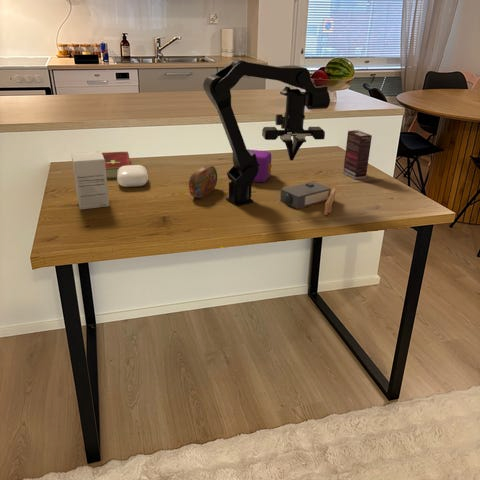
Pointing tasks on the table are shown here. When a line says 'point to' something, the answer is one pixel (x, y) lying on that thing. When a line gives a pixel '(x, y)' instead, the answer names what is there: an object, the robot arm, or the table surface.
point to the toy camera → (263, 165)
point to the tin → (203, 181)
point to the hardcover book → (115, 162)
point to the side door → (329, 202)
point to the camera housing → (305, 194)
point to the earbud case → (132, 175)
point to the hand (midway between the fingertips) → (291, 160)
